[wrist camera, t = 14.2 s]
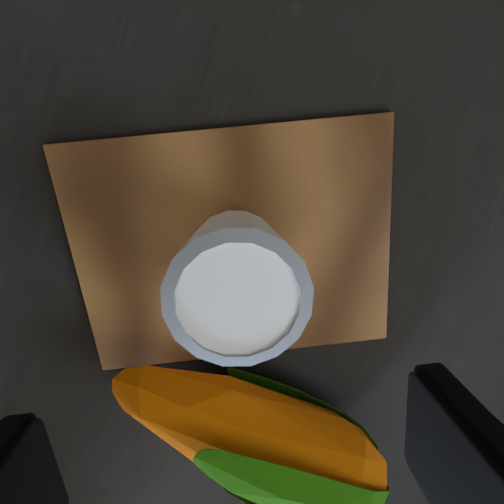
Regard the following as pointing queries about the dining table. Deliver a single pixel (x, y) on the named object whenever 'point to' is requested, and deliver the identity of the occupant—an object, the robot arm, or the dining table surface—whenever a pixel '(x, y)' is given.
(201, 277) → the shot glass
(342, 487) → the corn
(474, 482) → the robot arm
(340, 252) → the placemat
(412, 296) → the dining table surface
